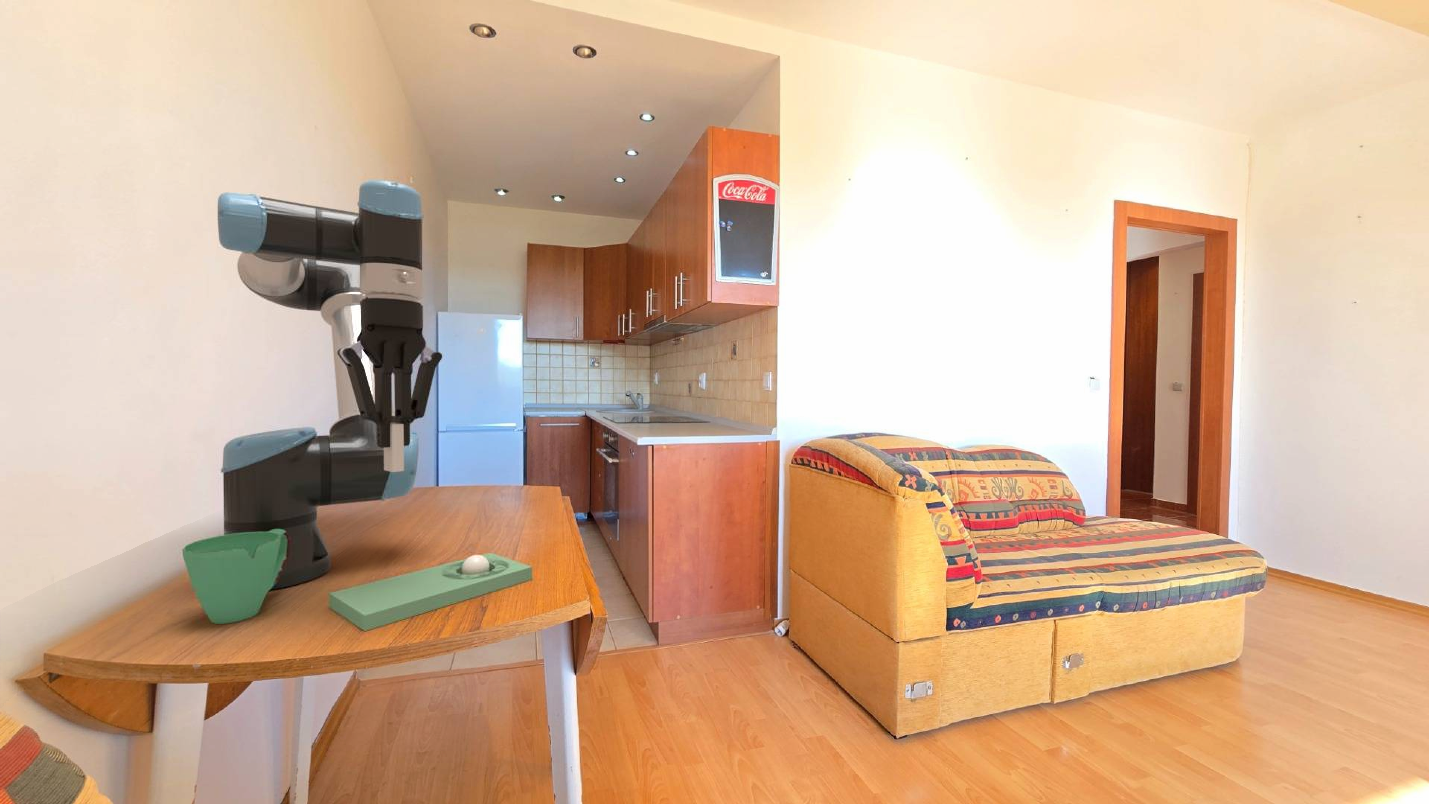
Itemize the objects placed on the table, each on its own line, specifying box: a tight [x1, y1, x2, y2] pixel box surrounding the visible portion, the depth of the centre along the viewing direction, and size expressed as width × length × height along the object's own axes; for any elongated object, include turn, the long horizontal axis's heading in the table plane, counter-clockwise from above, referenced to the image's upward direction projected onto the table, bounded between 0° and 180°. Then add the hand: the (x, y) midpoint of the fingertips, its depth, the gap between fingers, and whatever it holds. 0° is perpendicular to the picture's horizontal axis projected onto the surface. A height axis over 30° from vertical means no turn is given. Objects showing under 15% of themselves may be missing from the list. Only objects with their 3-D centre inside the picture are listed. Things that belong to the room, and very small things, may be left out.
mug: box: [182, 529, 290, 625], centre depth 77 cm, size 15×10×10 cm
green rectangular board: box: [328, 552, 533, 632], centre depth 83 cm, size 24×12×2 cm, turn 142°
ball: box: [462, 554, 489, 575], centre depth 88 cm, size 4×4×4 cm
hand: (393, 470), depth 78 cm, fingers closed
